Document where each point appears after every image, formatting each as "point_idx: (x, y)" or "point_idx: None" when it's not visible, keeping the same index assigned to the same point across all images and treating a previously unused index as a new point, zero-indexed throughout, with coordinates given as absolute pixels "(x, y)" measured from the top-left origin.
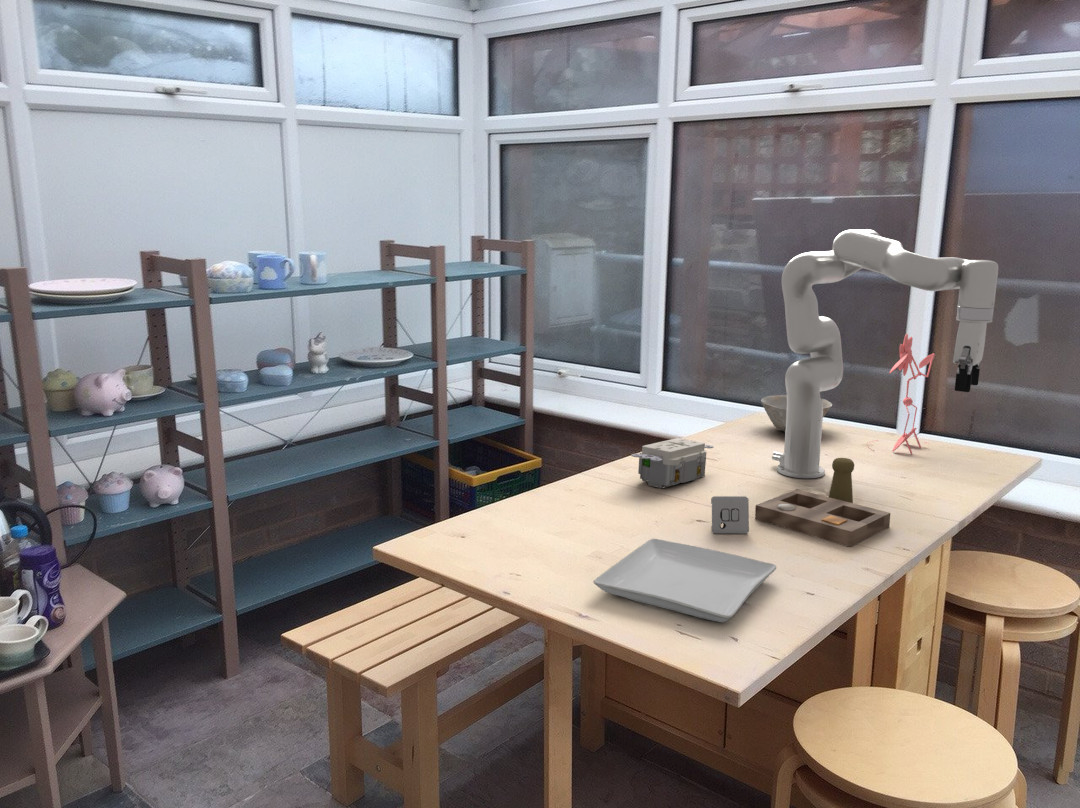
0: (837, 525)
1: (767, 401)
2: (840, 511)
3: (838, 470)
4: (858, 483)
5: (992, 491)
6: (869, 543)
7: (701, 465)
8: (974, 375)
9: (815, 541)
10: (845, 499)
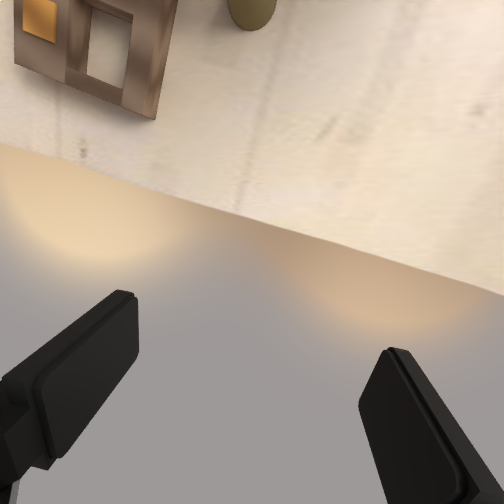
0: (23, 30)
1: None
2: (130, 17)
3: None
4: (402, 12)
5: (414, 265)
6: (72, 99)
7: None
8: (387, 460)
9: None
10: (230, 9)
